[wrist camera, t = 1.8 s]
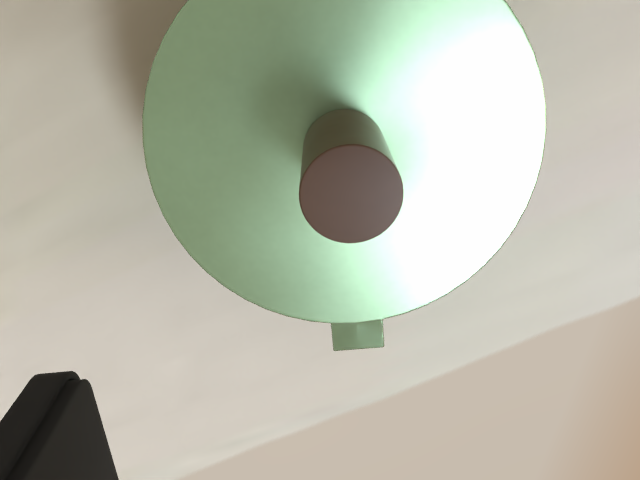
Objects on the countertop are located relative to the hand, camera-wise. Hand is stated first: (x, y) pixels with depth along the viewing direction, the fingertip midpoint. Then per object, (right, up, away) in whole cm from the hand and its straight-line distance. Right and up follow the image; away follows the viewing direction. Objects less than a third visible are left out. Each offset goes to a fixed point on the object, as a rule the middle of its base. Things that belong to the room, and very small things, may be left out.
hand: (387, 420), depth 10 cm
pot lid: (0, +7, +14) cm, 16 cm away
